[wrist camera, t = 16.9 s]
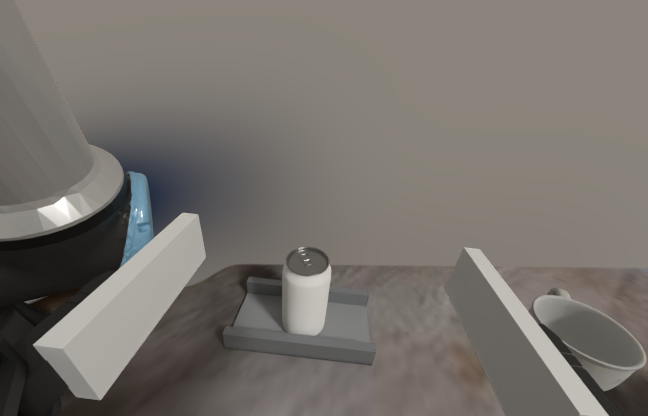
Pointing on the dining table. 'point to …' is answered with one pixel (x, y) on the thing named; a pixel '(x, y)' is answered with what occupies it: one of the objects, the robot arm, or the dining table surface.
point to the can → (305, 291)
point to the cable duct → (270, 336)
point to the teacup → (590, 337)
